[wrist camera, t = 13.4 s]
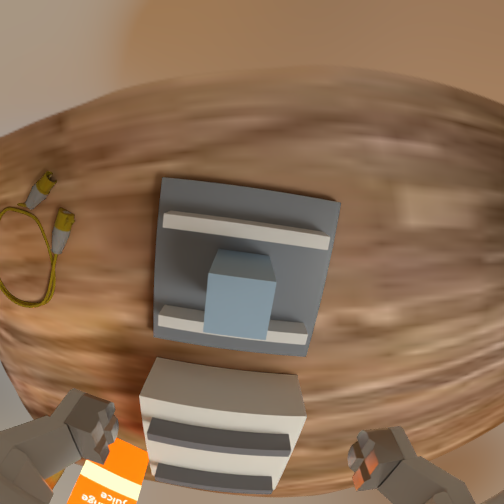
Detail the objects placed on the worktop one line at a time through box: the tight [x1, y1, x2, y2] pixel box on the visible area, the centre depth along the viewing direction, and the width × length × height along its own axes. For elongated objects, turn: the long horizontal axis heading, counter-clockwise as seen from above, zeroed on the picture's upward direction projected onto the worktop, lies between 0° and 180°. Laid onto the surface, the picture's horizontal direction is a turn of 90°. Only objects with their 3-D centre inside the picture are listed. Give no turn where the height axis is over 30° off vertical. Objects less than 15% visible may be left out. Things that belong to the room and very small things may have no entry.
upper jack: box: [139, 357, 307, 494], centre depth 24 cm, size 14×14×8 cm
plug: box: [203, 249, 277, 340], centre depth 20 cm, size 4×4×6 cm
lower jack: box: [154, 177, 341, 357], centre depth 23 cm, size 14×14×3 cm
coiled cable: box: [0, 171, 75, 308], centre depth 23 cm, size 12×16×2 cm
